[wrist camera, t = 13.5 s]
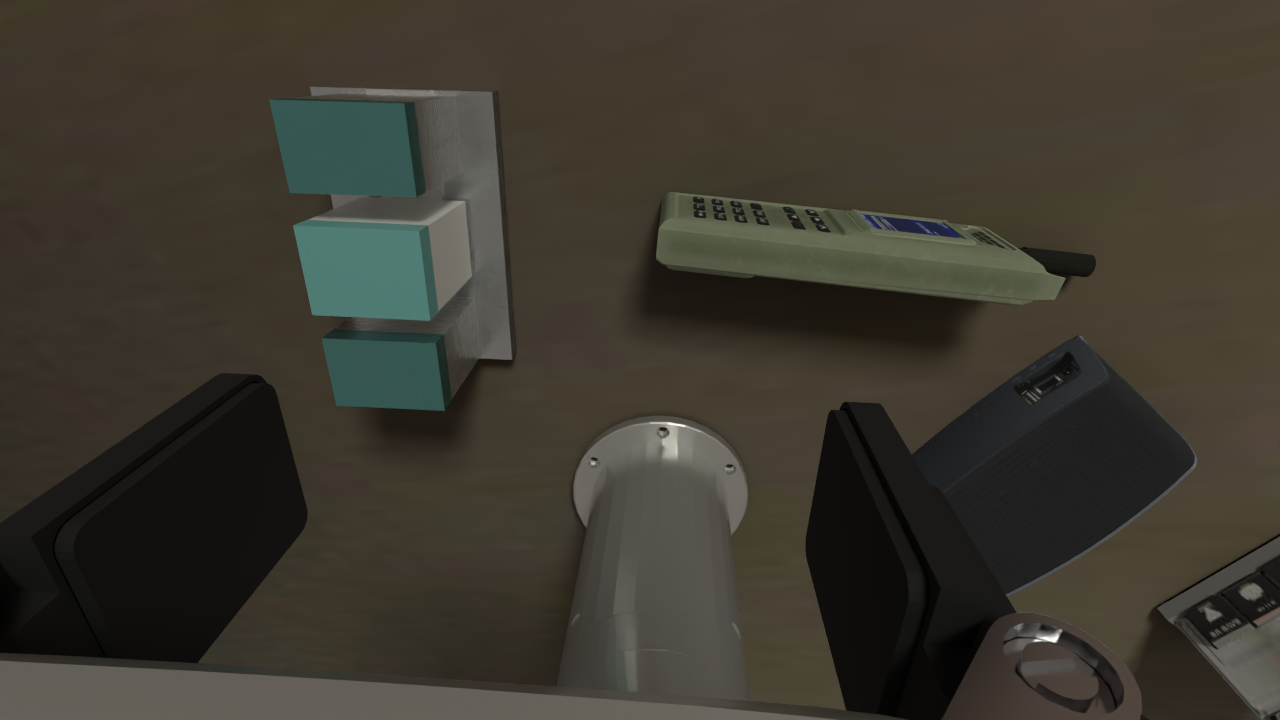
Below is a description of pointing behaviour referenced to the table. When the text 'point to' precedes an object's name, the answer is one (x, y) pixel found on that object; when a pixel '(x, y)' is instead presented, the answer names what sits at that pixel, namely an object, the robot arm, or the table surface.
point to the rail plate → (411, 169)
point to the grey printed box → (1238, 626)
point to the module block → (385, 257)
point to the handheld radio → (857, 250)
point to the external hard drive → (1054, 464)
